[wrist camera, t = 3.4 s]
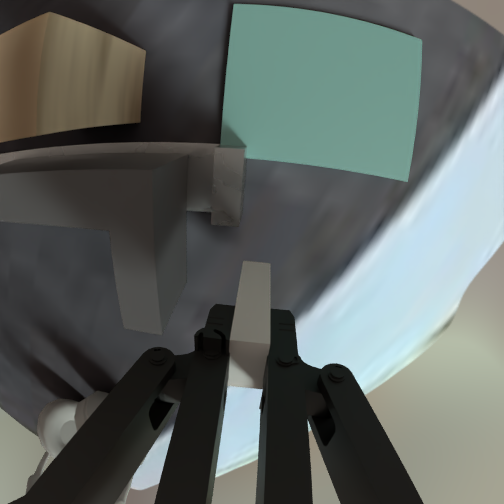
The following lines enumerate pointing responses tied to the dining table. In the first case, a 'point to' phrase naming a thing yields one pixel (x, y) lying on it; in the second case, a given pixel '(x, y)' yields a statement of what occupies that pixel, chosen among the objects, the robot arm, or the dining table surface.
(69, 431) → the headphones
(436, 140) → the dining table surface
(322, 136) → the pad
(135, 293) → the grey l-shaped block
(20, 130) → the beech block
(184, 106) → the dining table surface
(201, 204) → the rail
